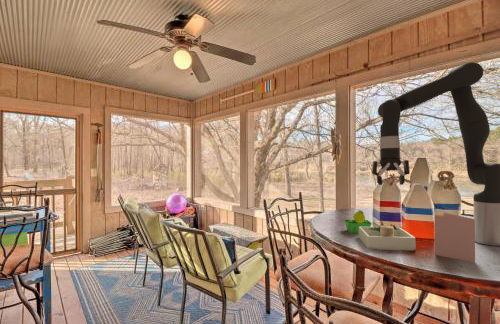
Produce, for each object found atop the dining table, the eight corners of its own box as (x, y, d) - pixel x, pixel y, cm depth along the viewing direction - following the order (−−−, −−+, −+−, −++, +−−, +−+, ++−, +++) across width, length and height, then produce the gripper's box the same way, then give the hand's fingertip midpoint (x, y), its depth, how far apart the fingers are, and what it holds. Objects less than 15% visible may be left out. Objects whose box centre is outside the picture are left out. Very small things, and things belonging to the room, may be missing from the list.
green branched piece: (399, 240, 112) (398, 221, 112) (370, 240, 113) (369, 222, 113) (395, 238, 115) (395, 220, 115) (367, 238, 116) (367, 220, 116)
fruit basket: (367, 229, 134) (366, 207, 134) (373, 234, 125) (373, 211, 125) (344, 229, 135) (343, 207, 135) (348, 234, 126) (348, 211, 126)
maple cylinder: (391, 242, 111) (391, 225, 110) (396, 246, 106) (395, 229, 106) (378, 241, 112) (378, 225, 111) (382, 245, 107) (382, 228, 106)
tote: (400, 238, 118) (399, 227, 118) (415, 250, 103) (415, 237, 103) (358, 237, 121) (358, 226, 121) (368, 248, 106) (367, 236, 106)
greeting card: (477, 262, 90) (476, 218, 90) (459, 264, 89) (459, 220, 89) (446, 250, 101) (445, 212, 101) (430, 252, 100) (429, 213, 100)
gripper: (374, 147, 110) (375, 186, 111) (411, 146, 108) (412, 185, 108) (369, 148, 118) (370, 184, 118) (404, 146, 115) (405, 183, 116)
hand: (390, 184), depth 113 cm, fingers open, 8 cm apart
